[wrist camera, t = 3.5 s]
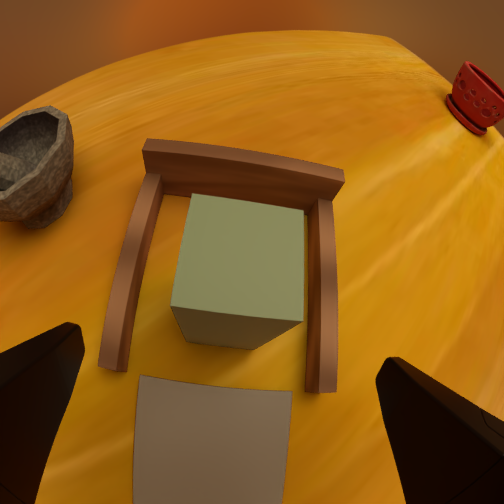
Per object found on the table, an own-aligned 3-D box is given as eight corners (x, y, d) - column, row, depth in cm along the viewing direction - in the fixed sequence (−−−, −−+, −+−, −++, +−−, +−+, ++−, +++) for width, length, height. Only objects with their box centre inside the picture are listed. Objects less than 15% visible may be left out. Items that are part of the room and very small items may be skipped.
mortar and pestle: (74, 144, 23) (43, 45, 13) (107, 204, 21) (63, 82, 10) (-11, 204, 19) (-67, 124, 8) (5, 277, 17) (-84, 199, 6)
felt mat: (278, 515, 13) (279, 516, 13) (134, 502, 12) (133, 504, 12) (291, 391, 18) (292, 391, 17) (140, 374, 16) (140, 374, 16)
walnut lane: (320, 391, 18) (355, 393, 13) (110, 368, 16) (81, 363, 12) (320, 205, 24) (343, 169, 20) (153, 181, 23) (147, 138, 18)
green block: (253, 349, 19) (303, 321, 10) (186, 341, 18) (170, 305, 9) (258, 286, 20) (303, 210, 12) (195, 278, 20) (192, 193, 11)
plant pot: (435, 89, 46) (458, 52, 35) (476, 119, 46) (501, 86, 35) (446, 118, 40) (477, 75, 29) (490, 152, 40) (522, 116, 29)
